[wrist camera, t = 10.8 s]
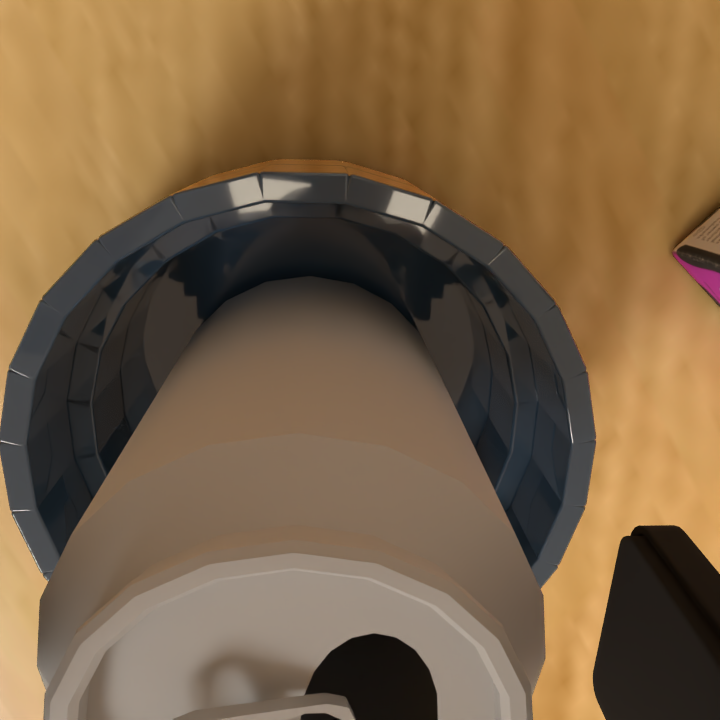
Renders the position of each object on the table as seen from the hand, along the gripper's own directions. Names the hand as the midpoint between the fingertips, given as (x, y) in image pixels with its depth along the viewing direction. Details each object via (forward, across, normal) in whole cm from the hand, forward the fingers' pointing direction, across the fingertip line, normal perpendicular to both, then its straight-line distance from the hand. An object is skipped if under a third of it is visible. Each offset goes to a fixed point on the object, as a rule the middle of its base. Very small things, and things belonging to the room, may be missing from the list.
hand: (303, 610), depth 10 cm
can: (+10, 0, +1) cm, 10 cm away
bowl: (+11, 0, +1) cm, 11 cm away
